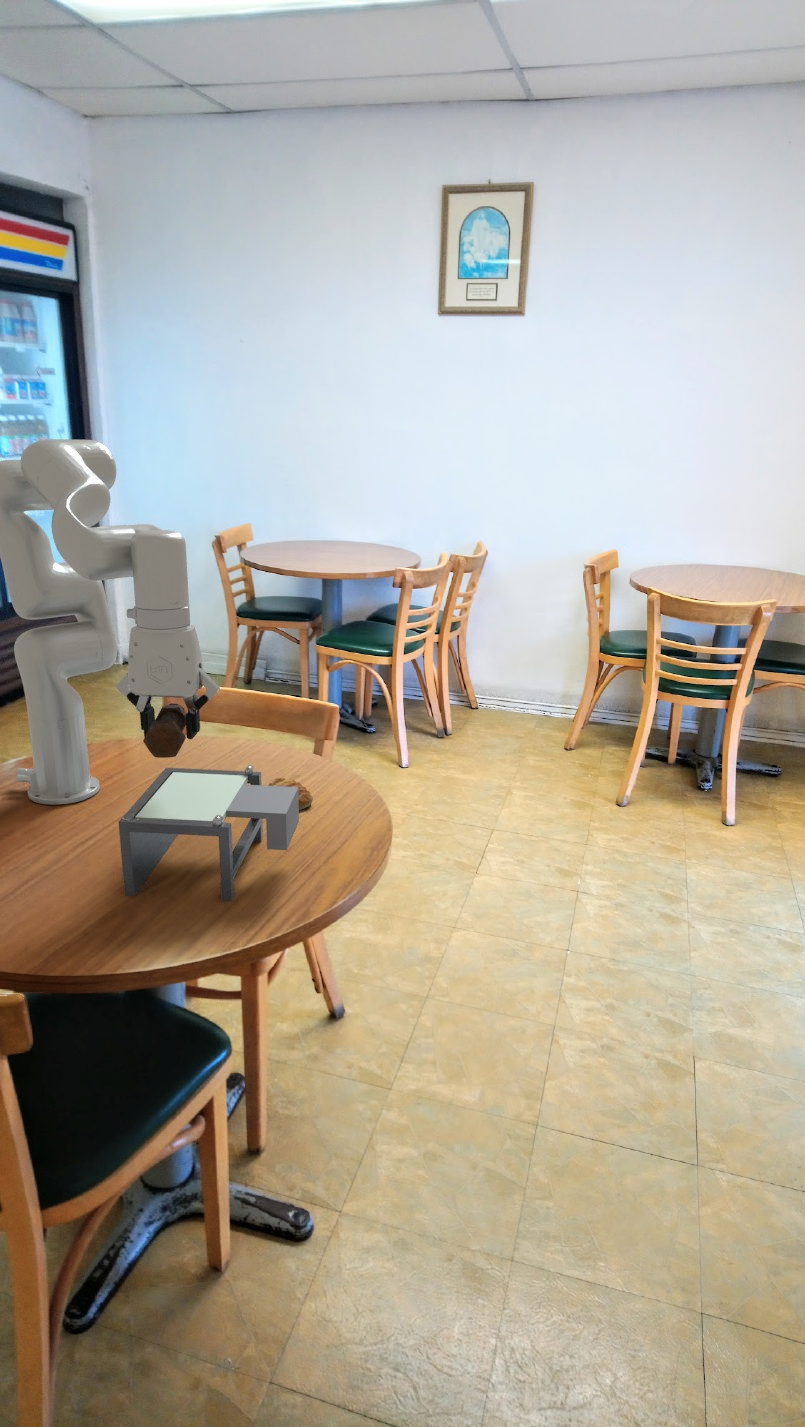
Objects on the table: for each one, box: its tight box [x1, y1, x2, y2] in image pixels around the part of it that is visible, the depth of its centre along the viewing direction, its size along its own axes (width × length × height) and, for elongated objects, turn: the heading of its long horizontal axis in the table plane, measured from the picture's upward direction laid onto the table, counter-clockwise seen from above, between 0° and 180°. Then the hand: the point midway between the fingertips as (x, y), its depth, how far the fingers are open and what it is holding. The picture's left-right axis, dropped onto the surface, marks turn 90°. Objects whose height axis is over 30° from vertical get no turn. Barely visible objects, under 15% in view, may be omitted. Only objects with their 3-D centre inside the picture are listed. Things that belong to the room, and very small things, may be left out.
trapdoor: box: [135, 772, 300, 851], centre depth 134 cm, size 21×17×6 cm
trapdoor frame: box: [118, 764, 264, 903], centre depth 135 cm, size 16×21×13 cm
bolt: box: [142, 703, 187, 759], centre depth 130 cm, size 6×5×15 cm
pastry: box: [267, 777, 314, 811], centre depth 161 cm, size 9×7×4 cm
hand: (171, 734), depth 131 cm, fingers closed on bolt, 5 cm apart
